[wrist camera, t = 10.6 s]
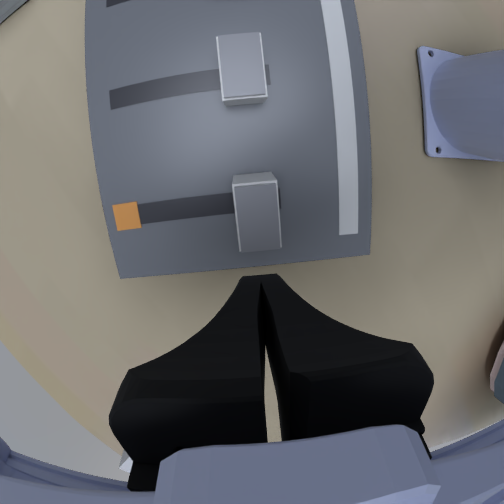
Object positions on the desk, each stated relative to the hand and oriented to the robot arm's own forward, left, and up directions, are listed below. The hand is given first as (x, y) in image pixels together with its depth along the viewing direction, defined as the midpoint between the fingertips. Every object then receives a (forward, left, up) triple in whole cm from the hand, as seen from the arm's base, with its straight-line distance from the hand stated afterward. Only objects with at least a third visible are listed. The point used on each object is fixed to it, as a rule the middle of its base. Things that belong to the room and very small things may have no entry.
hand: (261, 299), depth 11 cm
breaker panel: (+1, -9, -9) cm, 13 cm away
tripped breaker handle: (0, -2, -7) cm, 7 cm away
